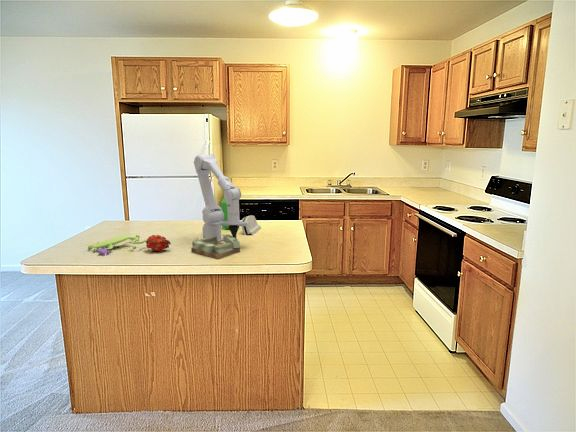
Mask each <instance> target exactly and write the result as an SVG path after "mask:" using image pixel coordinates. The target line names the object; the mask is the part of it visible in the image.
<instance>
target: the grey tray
mask: <svg viewBox="0 0 576 432" xmlns="http://www.w3.org/2000/svg"><path fill="white" fill-rule="evenodd" d="M191 244H192V247H191V252H192V253H194V254H198V255H202V256H205V257H209V258H212V259H216V260H219V259H222V258H226V257H228V256H233V255H234V254H236V253H240V252H241V247H239V248H232V244H231V243H226V242H224V243H223V242H220V241H219V242H217V236H209V237H206V238H203V237H202V238H200V239H195V240H194V241H192V243H191Z"/></svg>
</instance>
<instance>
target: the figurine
mask: <svg viewBox="0 0 576 432" xmlns="http://www.w3.org/2000/svg"><path fill="white" fill-rule="evenodd" d="M127 240H130V241H131V244H132V245H142V244H144V243H146V241H147V239H143V240H140V235H139V234H136V235H135V236H130V235H122V236H116V237H113V238H110V239H106V240H103V241H100V242H96V243H95V244H93V243H92V244H89V245H88V246H87V249H88V250H90V249H98V251H97V253H98V255H100V254H102V255H101V256H106V255H105V254H108V255H110V254H111V253H110V250H112V249H113V248H114V247H116V245H118V244H119V243H122V242H125V241H127ZM137 241H138V242H137ZM113 246H114V247H113ZM109 253H110V254H109Z"/></svg>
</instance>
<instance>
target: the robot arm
mask: <svg viewBox="0 0 576 432" xmlns="http://www.w3.org/2000/svg"><path fill="white" fill-rule="evenodd" d="M193 164H194V168H195V169H194V170H195V172H196V174H197V178H198V183H199V185H200V186H199V187H200V189H201V193H202V197H203V201H204V204H205V206H204V207H203V209H202V212H201V213H202V221H203V222H204V224H203V226H202V238H206V237H209V236H217V242H219V243H220V242H222V241H224V239H223V237H222V225H223V226H229V230H228V231H229V232H230V233H231V234H230V235H231V236H232V237H234V238H235V239H237V234H238V230H239V228H240V227H241V226H245V227H248V226H249V222H243V221H242V220H240V199H241V197H242V191H241V190H240V188H239V187H236V186H234V184H233V182H232V181H231V179H230V178H229V177H228V176H225V175H224V173H223V172H222V170H221V168H220V167H219V165H218V159H217V158H216V156H215V155H214V154H203V155H199V154H198V155H195V157H194V160H193ZM210 173H211V174H212V175H214V177H215V178H216V179H217V185H218V186H219V187H220V189H221V190H222V191H223V193H224V194H223V198H225V200H226V204H227V215H228V221H223V220H224V213H223V212H222V210H221V205H218V204H217V202H216V200H215V199H216V198H215V196H214V191H213V188H212V183H211V180H210V176H209V174H210Z"/></svg>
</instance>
